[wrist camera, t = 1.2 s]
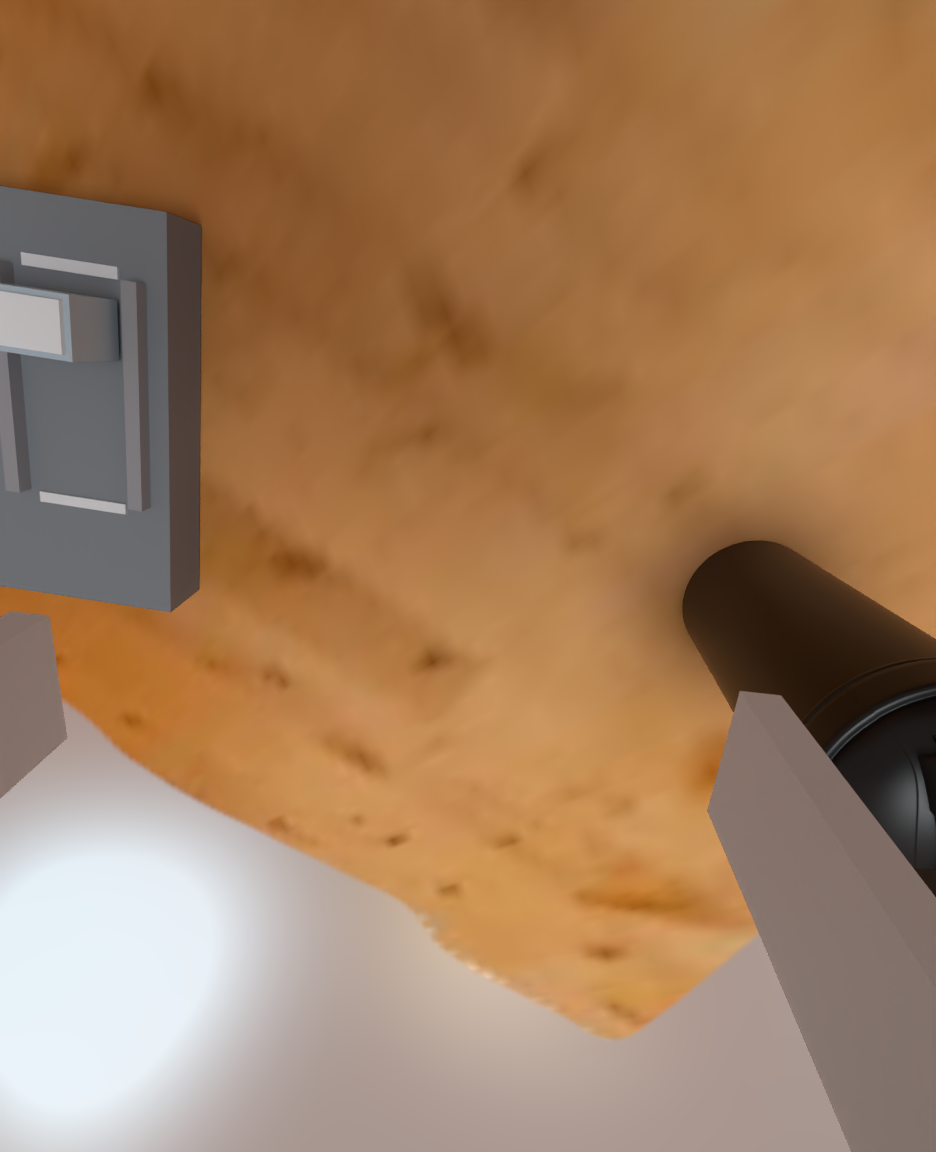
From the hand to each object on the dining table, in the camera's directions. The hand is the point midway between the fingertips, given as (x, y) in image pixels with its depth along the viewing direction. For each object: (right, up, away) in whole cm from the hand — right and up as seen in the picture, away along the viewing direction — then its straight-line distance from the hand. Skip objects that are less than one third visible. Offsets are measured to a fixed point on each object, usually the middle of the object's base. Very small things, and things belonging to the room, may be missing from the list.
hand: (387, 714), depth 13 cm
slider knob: (-19, +16, +22) cm, 33 cm away
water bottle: (+20, +1, +30) cm, 36 cm away
